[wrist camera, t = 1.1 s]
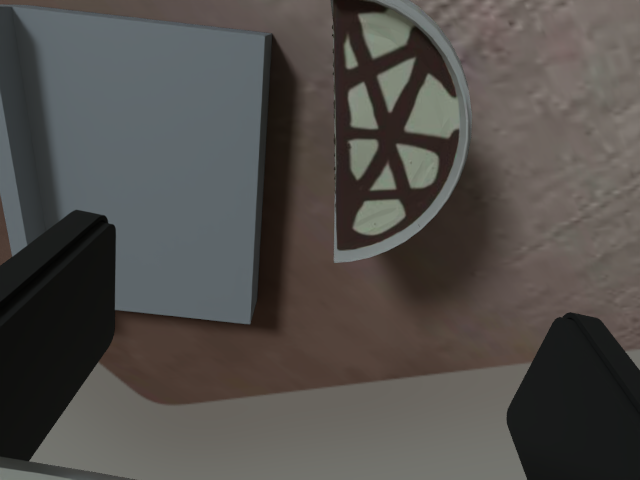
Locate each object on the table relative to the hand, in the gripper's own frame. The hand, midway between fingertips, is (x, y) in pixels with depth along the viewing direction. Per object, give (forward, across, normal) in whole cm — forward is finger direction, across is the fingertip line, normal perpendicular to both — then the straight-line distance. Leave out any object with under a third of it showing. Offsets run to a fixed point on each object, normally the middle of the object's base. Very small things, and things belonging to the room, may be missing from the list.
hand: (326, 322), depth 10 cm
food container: (+22, -2, -1) cm, 22 cm away
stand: (+21, +11, +6) cm, 24 cm away
